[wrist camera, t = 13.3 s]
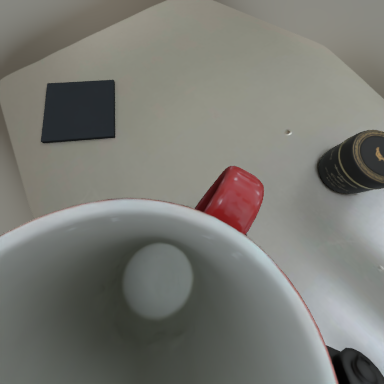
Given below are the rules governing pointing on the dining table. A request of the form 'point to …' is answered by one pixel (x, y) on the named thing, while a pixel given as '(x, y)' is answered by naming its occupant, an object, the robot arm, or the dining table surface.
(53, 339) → the mug
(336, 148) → the jar
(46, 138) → the mat
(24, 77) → the dining table surface
